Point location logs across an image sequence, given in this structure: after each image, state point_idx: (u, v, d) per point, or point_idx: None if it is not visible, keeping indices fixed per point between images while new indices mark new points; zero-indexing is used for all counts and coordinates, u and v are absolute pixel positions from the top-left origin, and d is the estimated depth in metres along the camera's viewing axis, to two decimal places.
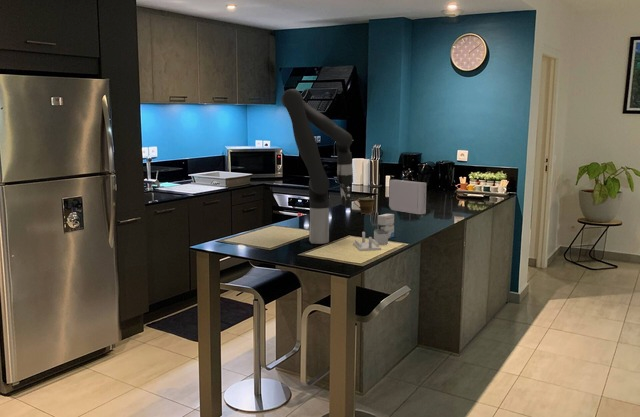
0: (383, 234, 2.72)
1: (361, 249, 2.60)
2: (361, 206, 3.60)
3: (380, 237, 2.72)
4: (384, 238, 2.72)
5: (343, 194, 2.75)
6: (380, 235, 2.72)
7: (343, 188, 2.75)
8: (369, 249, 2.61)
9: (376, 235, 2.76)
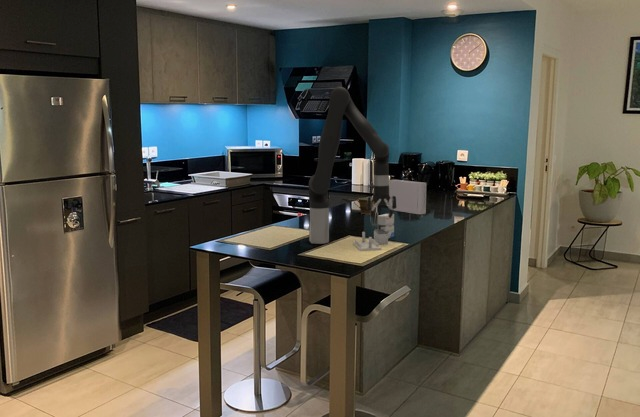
0: (383, 234, 2.72)
1: (361, 249, 2.60)
2: (361, 206, 3.60)
3: (380, 237, 2.72)
4: (384, 238, 2.72)
5: (388, 204, 2.73)
6: (380, 235, 2.72)
7: (385, 199, 2.73)
8: (369, 249, 2.61)
9: (376, 235, 2.76)
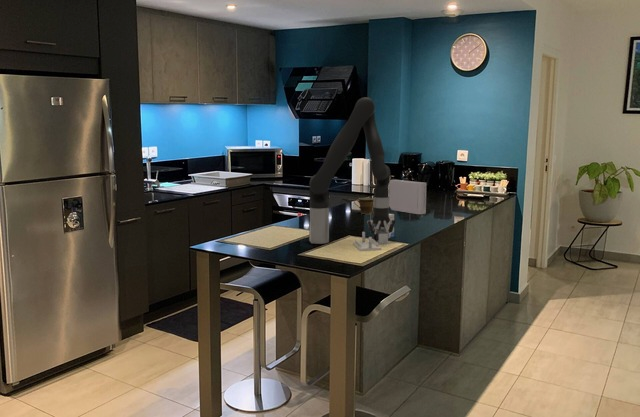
0: (383, 234, 2.72)
1: (361, 249, 2.60)
2: (361, 206, 3.60)
3: (380, 237, 2.72)
4: (384, 238, 2.72)
5: (385, 227, 2.75)
6: (380, 235, 2.72)
7: (385, 221, 2.74)
8: (369, 249, 2.61)
9: None
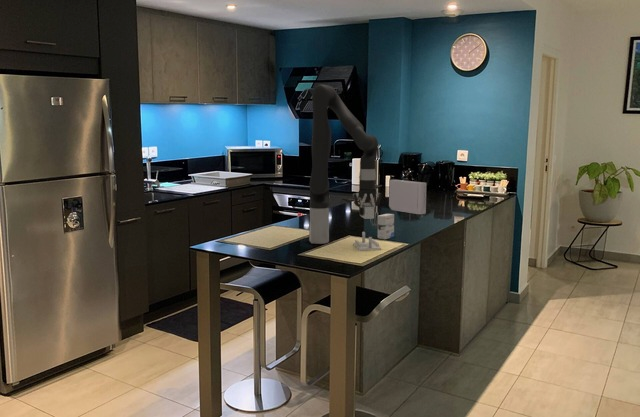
0: (369, 207, 2.61)
1: (361, 249, 2.60)
2: None
3: (366, 210, 2.61)
4: (370, 211, 2.61)
5: (372, 200, 2.63)
6: (366, 208, 2.60)
7: (371, 194, 2.63)
8: (369, 249, 2.61)
9: None
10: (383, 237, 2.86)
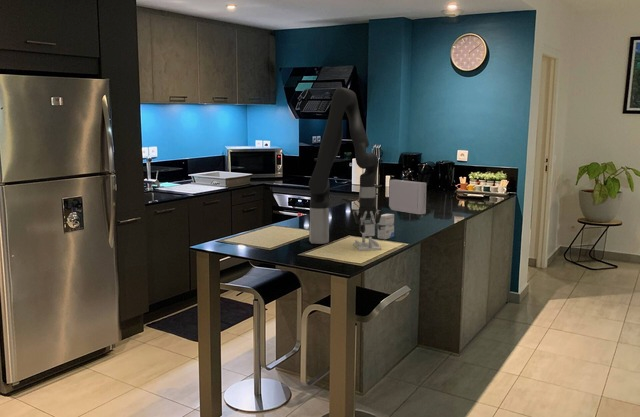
0: (370, 225, 2.62)
1: (361, 249, 2.60)
2: None
3: (367, 228, 2.62)
4: (371, 229, 2.62)
5: (372, 218, 2.65)
6: (366, 226, 2.62)
7: (372, 211, 2.64)
8: (369, 249, 2.61)
9: None
10: (383, 237, 2.86)
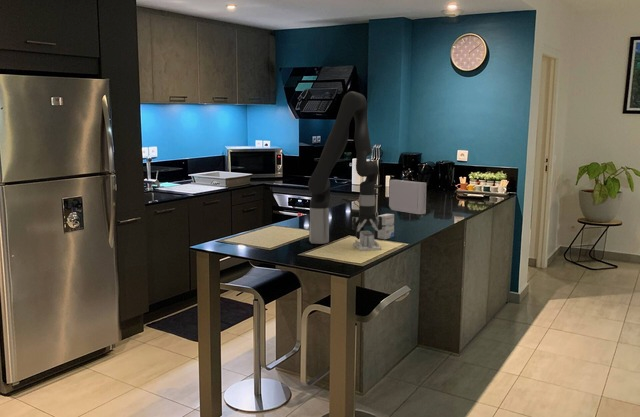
0: (369, 236, 2.63)
1: (361, 249, 2.60)
2: None
3: (366, 239, 2.62)
4: None
5: (373, 225, 2.65)
6: (366, 237, 2.62)
7: None
8: (369, 249, 2.61)
9: (362, 237, 2.66)
10: (383, 237, 2.86)
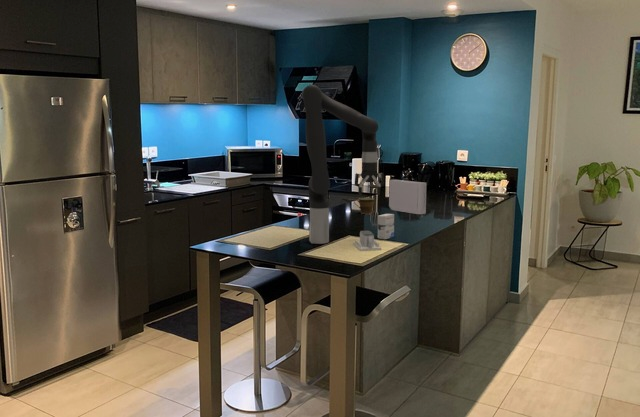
0: (369, 236, 2.63)
1: (361, 249, 2.60)
2: (361, 206, 3.60)
3: (366, 239, 2.62)
4: None
5: (376, 181, 2.75)
6: (366, 237, 2.62)
7: (373, 175, 2.74)
8: (369, 249, 2.61)
9: (362, 237, 2.66)
10: (383, 237, 2.86)
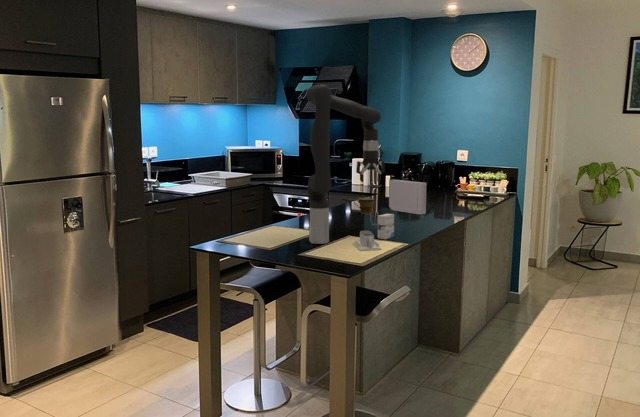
0: (369, 236, 2.63)
1: (361, 249, 2.60)
2: (361, 206, 3.60)
3: (366, 239, 2.62)
4: None
5: (377, 169, 2.87)
6: (366, 237, 2.62)
7: (374, 163, 2.87)
8: (369, 249, 2.61)
9: (362, 237, 2.66)
10: (383, 237, 2.86)
